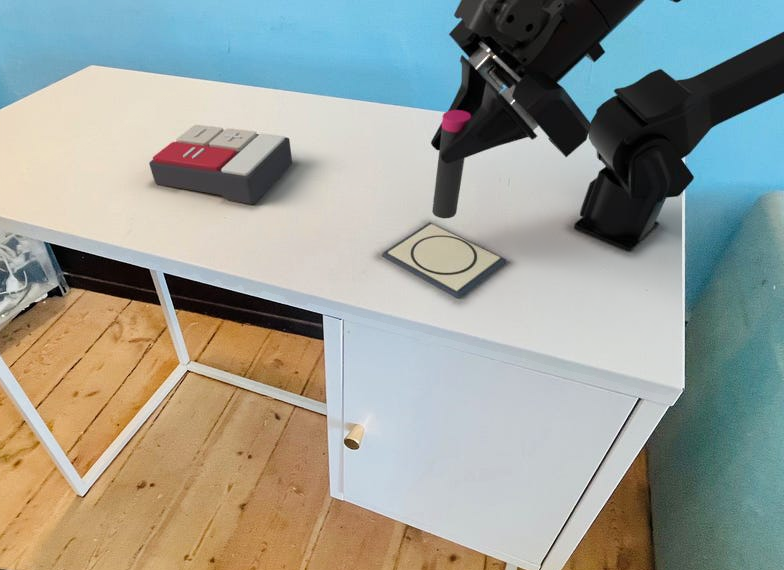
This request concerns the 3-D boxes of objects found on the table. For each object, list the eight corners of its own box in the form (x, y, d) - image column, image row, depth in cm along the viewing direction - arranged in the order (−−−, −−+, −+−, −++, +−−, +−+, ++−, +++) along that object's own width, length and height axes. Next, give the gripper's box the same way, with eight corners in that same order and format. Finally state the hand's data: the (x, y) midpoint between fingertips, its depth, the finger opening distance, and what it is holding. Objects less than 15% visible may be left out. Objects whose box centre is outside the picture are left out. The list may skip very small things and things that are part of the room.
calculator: (193, 120, 78) (290, 131, 72) (200, 150, 81) (293, 163, 76) (145, 157, 71) (247, 172, 66) (155, 188, 74) (253, 205, 69)
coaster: (505, 262, 59) (507, 257, 58) (458, 298, 55) (459, 293, 55) (429, 225, 64) (430, 220, 64) (381, 256, 61) (382, 251, 60)
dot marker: (450, 203, 59) (464, 107, 52) (460, 216, 57) (476, 119, 50) (428, 207, 59) (438, 112, 52) (437, 220, 57) (449, 123, 50)
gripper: (486, -93, 48) (357, 61, 55) (598, -42, 35) (411, 150, 42) (552, 2, 54) (428, 129, 61) (668, 75, 41) (494, 225, 48)
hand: (438, 153), depth 53 cm, fingers closed on dot marker, 2 cm apart
